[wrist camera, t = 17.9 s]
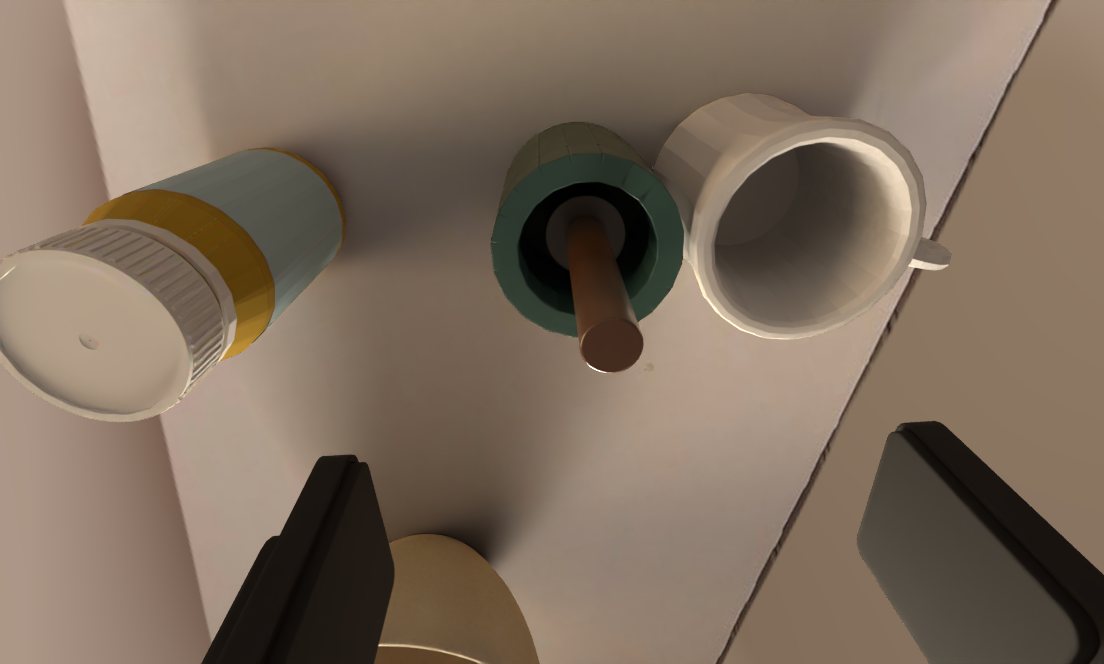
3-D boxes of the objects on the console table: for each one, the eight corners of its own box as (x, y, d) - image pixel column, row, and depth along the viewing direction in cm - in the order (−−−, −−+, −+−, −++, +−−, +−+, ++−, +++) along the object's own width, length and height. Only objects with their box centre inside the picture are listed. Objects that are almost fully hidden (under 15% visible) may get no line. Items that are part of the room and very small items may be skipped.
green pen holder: (509, 267, 32) (499, 341, 24) (497, 125, 29) (481, 158, 21) (643, 260, 32) (678, 333, 24) (648, 118, 29) (691, 148, 21)
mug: (627, 243, 32) (661, 322, 23) (677, 72, 28) (743, 86, 19) (825, 285, 33) (930, 374, 24) (901, 127, 29) (1060, 166, 20)
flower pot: (533, 646, 49) (531, 817, 38) (323, 633, 47) (260, 807, 37) (561, 494, 40) (568, 657, 30) (307, 473, 39) (219, 636, 28)
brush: (545, 235, 31) (550, 403, 16) (542, 168, 29) (544, 290, 15) (610, 231, 31) (672, 397, 16) (611, 165, 29) (680, 284, 15)
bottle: (363, 264, 32) (238, 423, 19) (244, 276, 32) (37, 442, 19) (328, 138, 29) (147, 221, 15) (197, 152, 29) (-94, 247, 16)
